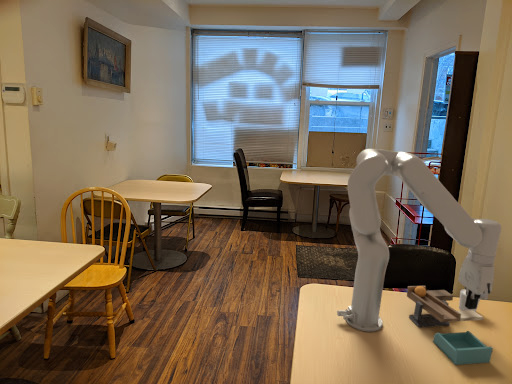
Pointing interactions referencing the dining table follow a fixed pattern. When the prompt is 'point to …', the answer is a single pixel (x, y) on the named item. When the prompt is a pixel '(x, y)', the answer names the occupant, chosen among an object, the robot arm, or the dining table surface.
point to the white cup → (463, 300)
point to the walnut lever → (441, 306)
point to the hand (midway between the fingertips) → (470, 307)
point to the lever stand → (426, 317)
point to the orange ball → (420, 291)
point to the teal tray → (463, 348)
